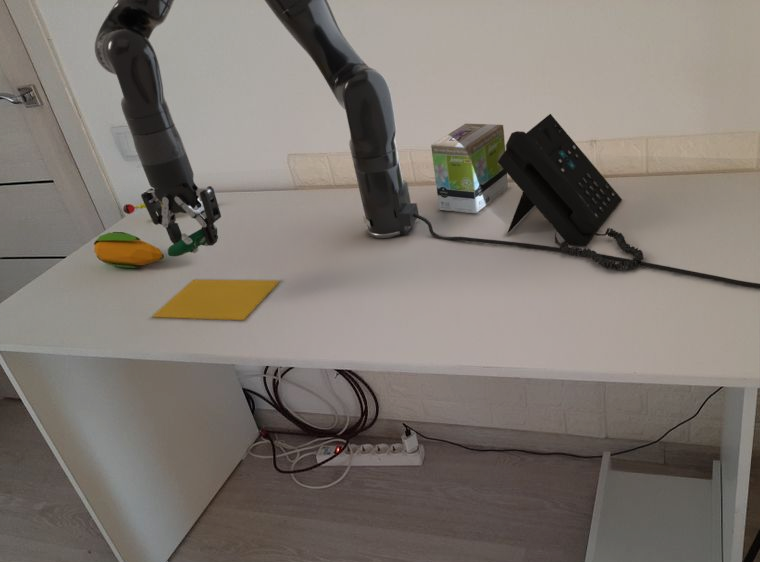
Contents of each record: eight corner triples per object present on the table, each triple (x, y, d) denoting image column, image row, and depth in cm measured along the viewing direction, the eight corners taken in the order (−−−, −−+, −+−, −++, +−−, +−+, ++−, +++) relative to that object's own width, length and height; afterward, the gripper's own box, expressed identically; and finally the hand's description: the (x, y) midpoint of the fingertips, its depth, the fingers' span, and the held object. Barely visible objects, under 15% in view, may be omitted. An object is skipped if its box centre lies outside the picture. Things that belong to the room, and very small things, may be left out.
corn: (103, 223, 155) (166, 228, 146) (118, 252, 160) (181, 259, 151) (78, 240, 150) (142, 246, 141) (94, 269, 155) (157, 277, 146)
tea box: (478, 214, 146) (470, 146, 138) (438, 211, 151) (428, 144, 143) (510, 187, 156) (503, 122, 148) (471, 184, 161) (463, 121, 153)
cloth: (279, 282, 134) (279, 280, 134) (243, 320, 123) (243, 319, 123) (194, 281, 141) (193, 279, 141) (152, 317, 130) (152, 316, 130)
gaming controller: (179, 268, 125) (186, 250, 120) (164, 253, 124) (171, 234, 120) (216, 246, 131) (225, 228, 126) (202, 231, 130) (210, 213, 126)
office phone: (635, 275, 116) (636, 158, 104) (484, 258, 129) (471, 153, 118) (678, 205, 135) (683, 100, 124) (544, 196, 149) (537, 101, 138)
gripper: (210, 145, 117) (240, 234, 126) (142, 149, 122) (175, 235, 131) (185, 161, 111) (218, 253, 121) (114, 164, 116) (151, 253, 125)
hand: (195, 243), depth 126 cm, fingers closed on gaming controller, 7 cm apart
